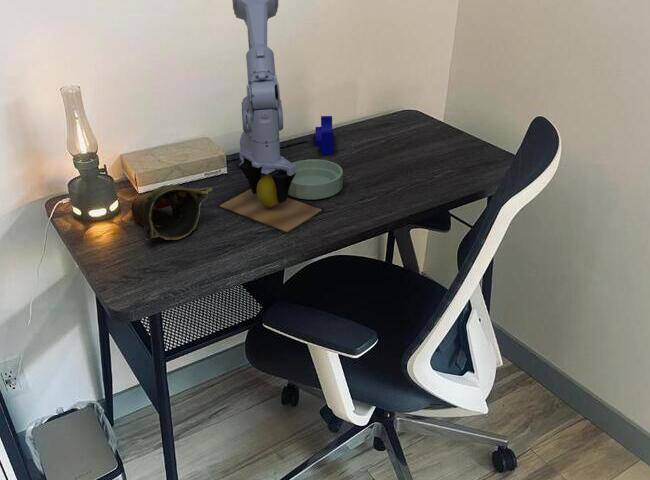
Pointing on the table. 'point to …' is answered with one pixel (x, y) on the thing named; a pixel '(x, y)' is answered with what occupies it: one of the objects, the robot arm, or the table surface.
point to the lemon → (267, 191)
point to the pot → (177, 200)
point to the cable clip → (325, 135)
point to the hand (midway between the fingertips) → (269, 196)
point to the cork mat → (271, 211)
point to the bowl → (316, 179)
